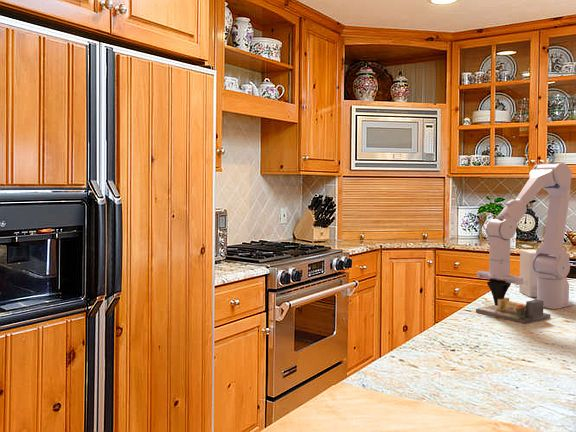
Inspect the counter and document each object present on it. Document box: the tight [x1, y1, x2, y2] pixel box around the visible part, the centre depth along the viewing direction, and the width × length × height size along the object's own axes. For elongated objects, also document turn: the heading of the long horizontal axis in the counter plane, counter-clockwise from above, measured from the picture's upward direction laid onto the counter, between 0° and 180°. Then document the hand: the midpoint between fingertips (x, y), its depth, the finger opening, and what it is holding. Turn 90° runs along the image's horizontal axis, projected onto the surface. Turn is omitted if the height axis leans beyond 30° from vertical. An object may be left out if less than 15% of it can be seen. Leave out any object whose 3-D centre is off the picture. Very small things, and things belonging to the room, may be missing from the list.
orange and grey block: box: [517, 303, 524, 316], centre depth 153 cm, size 2×1×3 cm, turn 123°
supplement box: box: [518, 249, 555, 298], centre depth 187 cm, size 9×9×15 cm
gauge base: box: [475, 299, 551, 325], centre depth 159 cm, size 12×16×5 cm
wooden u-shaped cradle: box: [498, 297, 526, 312], centre depth 159 cm, size 6×8×3 cm
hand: (498, 305), depth 164 cm, fingers closed
